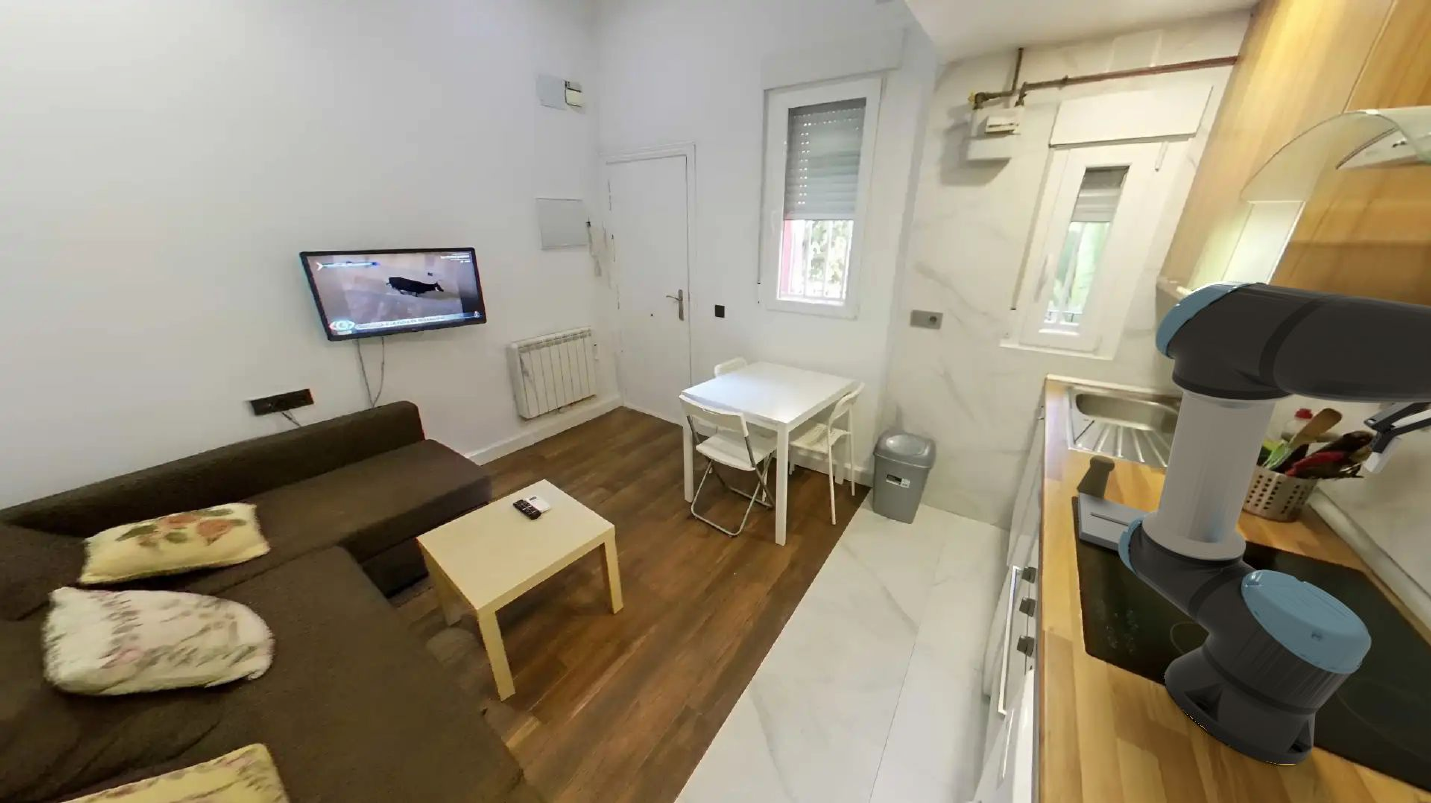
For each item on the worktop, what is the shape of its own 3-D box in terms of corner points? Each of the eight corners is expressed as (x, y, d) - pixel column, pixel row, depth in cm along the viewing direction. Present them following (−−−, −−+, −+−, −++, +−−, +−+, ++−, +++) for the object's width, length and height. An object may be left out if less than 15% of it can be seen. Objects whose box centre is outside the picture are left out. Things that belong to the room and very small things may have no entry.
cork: (1108, 499, 120) (1124, 465, 116) (1083, 496, 121) (1098, 462, 117) (1096, 487, 126) (1110, 453, 121) (1072, 484, 127) (1085, 451, 122)
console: (1235, 589, 92) (1240, 581, 91) (1079, 538, 106) (1082, 530, 105) (1211, 537, 107) (1215, 529, 106) (1077, 498, 121) (1080, 491, 120)
